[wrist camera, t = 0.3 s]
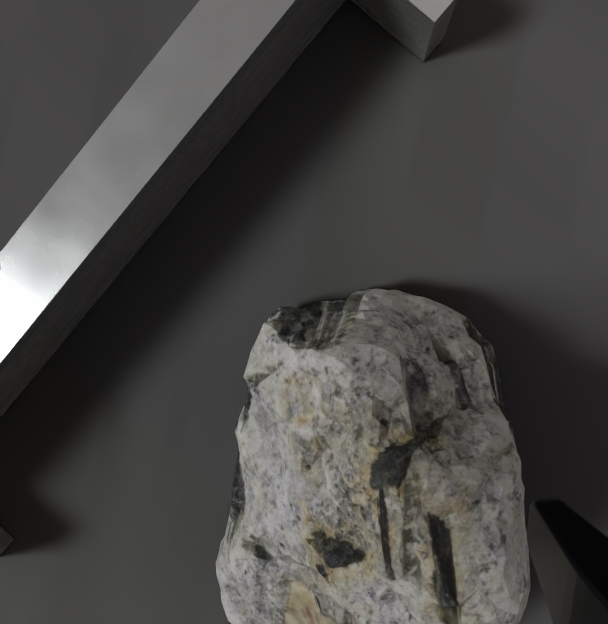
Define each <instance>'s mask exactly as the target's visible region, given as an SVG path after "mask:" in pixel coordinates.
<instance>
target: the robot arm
mask: <svg viewBox="0 0 608 624" xmlns="http://www.w3.org/2000/svg"><path fill="white" fill-rule="evenodd" d="M527 543H528V548H529V552H530V555H531V558H532V561H533V564H534V567H535V570H536V573H537V576H538V579H539V582H540V585H541V588H542V591H543V594H544V597H545V600H546V603H547V606H548V609H549V612H550V615H551V618H552V621H553V623H554V624H608V537H607V536H605V535H604V534H603V533H602V532H600V531H599V530H598V529H597V528H595V527H594V526H593V525H592V524H590V523H589V522H588V521H586V520H585V519H584V518H583V517H581V516H580V515H579V514H578V513H576V512H575V511H574V510H573V509H571V508H570V507H569V506H568V505H566V504H565V503H564V502H562V501H561V500H559V499H544V500H535V501H533V502H532V503H531V504H530V508H529V519H528V530H527Z"/></svg>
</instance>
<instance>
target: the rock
mask: <svg viewBox="0 0 608 624" xmlns="http://www.w3.org/2000/svg"><path fill="white" fill-rule="evenodd" d="M244 378H245V380H246V381H247V383H248V384H247V390H248V391H249V395H248V398H247V400H246V403H245V405H244V407H243V410H242V412H241V415H240V417H239V420H238V422H237V424H236V428H235V434H236V437H237V440H238V445H239V453H238V458H237V463H236V467H235V472H234V477H233V482H232V488H231V493H230V499H229V519H228V524H227V528H226V533H225V536H224V538H223V539H222V541H221V544H220V550H219V555H218V558H217V561H216V574H217V579H218V582H219V585H220V589H221V600H222V604H223V607H224V610H225V613H226V616H227V619H228V621H229V622H230V623H232V624H519V623H520V621H521V618H522V615H523V613H524V610H525V607H526V604H527V600H528V597H529V593H530V589H531V585H530V567H529V548H528V543H527V531H526V526H525V513H524V490H525V488H524V485H523V482H522V479H521V460H520V457H519V455H518V453H517V448H516V445H515V438H514V431H513V428H512V422H511V420H510V419H506V415H505V408H504V400H503V393H502V386H501V381H500V375H499V370H498V364H497V359H496V355H495V353H494V351H493V346H492V345H491V344H490V343H489V342H488V341H487V340H486V339H485V338H484V337H482V336H481V335H480V334H479V332H478V331H477V330H476V328H475V327H474V326H473V325H472V323H471V321H470V319H469V318H467V317H465V316H463V315H461V314H460V313H458V312H457V311H455V310H453V309H451V308H449V307H447V306H445V305H443V304H441V303H438V302H436V301H433V300H430V299H428V298H425V297H420V296H415V295H411V294H408V293H404V292H402V291H399V290H383V289H380V288H377V289H370V290H359V291H357V292H355V293H353V294H351V295H349V296H348V297H347V298H346V299H345V300H336V301H320V302H316V303H312V304H310V305H308V306H307V307H305V308H302V309H296V308H293V307H280V308H279V309H277V310H274V311H273V312H272V313H271V314H270V316H269V319H268V322H265V323H264V324H263V326H262V329H261V331H260V334H259V336H258V338H257V340H256V342H255V344H254V346H253V347H252V349H251V353H250V357H249V360H248V364H247V367H246V370H245V374H244Z"/></svg>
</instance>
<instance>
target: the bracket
mask: <svg viewBox="0 0 608 624" xmlns="http://www.w3.org/2000/svg"><path fill="white" fill-rule="evenodd" d="M345 1H346V0H200V1H199V2H198V3H197V4H196V6H195V7H194V8H193V9H192V11H191V12H190V13H189V15H188V16H187V17H186V18H185V20H184V21H183V22H182V23H181V25H180V26H179V27H178V28H177V30H176V31H175V32H174V33H173V35H172V36H171V37H170V39H169V40H168V41H167V42H166V44H165V45H164V46H163V47H162V49H161V50H160V51H159V52H158V54H157V55H156V56H155V58H154V59H153V60H152V61H151V63H150V64H149V65H148V66H147V68H146V69H145V70H144V71H143V73H142V74H141V75H140V76H139V78H138V79H137V80H136V82H135V83H134V84H133V85H132V87H131V88H130V89H129V90H128V92H127V93H126V94H125V95H124V97H123V98H122V99H121V101H120V102H119V103H118V104H117V106H116V107H115V108H114V109H113V111H112V112H111V113H110V114H109V116H108V117H107V118H106V119H105V121H104V122H103V123H102V125H101V126H100V127H99V128H98V130H97V131H96V132H95V133H94V135H93V136H92V137H91V138H90V140H89V141H88V142H87V144H86V145H85V146H84V147H83V149H82V150H81V151H80V152H79V154H78V155H77V156H76V157H75V159H74V160H73V161H72V162H71V164H70V165H69V166H68V168H67V169H66V170H65V171H64V173H63V174H62V175H61V176H60V178H59V179H58V180H57V181H56V183H55V184H54V185H53V186H52V188H51V189H50V190H49V192H48V193H47V194H46V195H45V197H44V198H43V199H42V200H41V202H40V203H39V204H38V205H37V207H36V208H35V209H34V211H33V212H32V213H31V214H30V216H29V217H28V218H27V219H26V221H25V222H24V223H23V224H22V226H21V227H20V228H19V229H18V231H17V232H16V233H15V235H14V236H13V237H12V238H11V240H10V241H9V242H8V243H7V245H6V246H5V247H4V248H3V250H2V251H1V252H0V418H1V417H2V416H3V414H4V413H5V412H6V411H7V410H8V408H9V407H10V406H11V405H12V404H13V402H14V401H15V400H16V399H17V397H18V396H19V395H20V394H21V393H22V391H23V390H24V389H25V388H26V387H27V385H28V384H29V383H30V382H31V381H32V379H33V378H34V377H35V376H36V374H37V373H38V372H39V371H40V370H41V368H42V367H43V366H44V365H45V364H46V362H47V361H48V360H49V359H50V358H51V356H52V355H53V354H54V353H55V351H56V350H57V349H58V348H59V347H60V345H61V344H62V343H63V342H64V341H65V339H66V338H67V337H68V336H69V335H70V333H71V332H72V331H73V330H74V329H75V327H76V326H77V325H78V324H79V322H80V321H81V320H82V319H83V318H84V316H85V315H86V314H87V313H88V312H89V310H90V309H91V308H92V307H93V306H94V304H95V303H96V302H97V301H98V299H99V298H100V297H101V296H102V295H103V293H104V292H105V291H106V290H107V289H108V287H109V286H110V285H111V284H112V283H113V281H114V280H115V279H116V278H117V276H118V275H119V274H120V273H121V272H122V270H123V269H124V268H125V267H126V266H127V264H128V263H129V262H130V261H131V260H132V258H133V257H134V256H135V255H136V253H137V252H138V251H139V250H140V249H141V247H142V246H143V245H144V244H145V243H146V241H147V240H148V239H149V238H150V237H151V235H152V234H153V233H154V232H155V230H156V229H157V228H158V227H159V226H160V224H161V223H162V222H163V221H164V220H165V218H166V217H167V216H168V215H169V214H170V212H171V211H172V210H173V209H174V207H175V206H176V205H177V204H178V203H179V201H180V200H181V199H182V198H183V197H184V195H185V194H186V193H187V192H188V191H189V189H190V188H191V187H192V186H193V185H194V183H195V182H196V181H197V180H198V178H199V177H200V176H201V175H202V174H203V172H204V171H205V170H206V169H207V168H208V166H209V165H210V164H211V163H212V162H213V160H214V159H215V158H216V157H217V155H218V154H219V153H220V152H221V151H222V149H223V148H224V147H225V146H226V145H227V143H228V142H229V141H230V140H231V139H232V137H233V136H234V135H235V134H236V132H237V131H238V130H239V129H240V128H241V126H242V125H243V124H244V123H245V122H246V120H247V119H248V118H249V117H250V116H251V114H252V113H253V112H254V111H255V109H256V108H257V107H258V106H259V105H260V103H261V102H262V101H263V100H264V99H265V97H266V96H267V95H268V94H269V93H270V91H271V90H272V89H273V88H274V86H275V85H276V84H277V83H278V82H279V80H280V79H281V78H282V77H283V76H284V74H285V73H286V72H287V71H288V70H289V68H290V67H291V66H292V65H293V64H294V62H295V61H296V60H297V59H298V57H299V56H300V55H301V54H302V53H303V51H304V50H305V49H306V48H307V47H308V45H309V44H310V43H311V42H312V41H313V39H314V38H315V37H316V36H317V34H318V33H319V32H320V31H321V30H322V28H323V27H324V26H325V25H326V24H327V22H328V21H329V20H330V19H331V18H332V16H333V15H334V14H335V13H336V11H337V10H338V9H339V8H340V7H341V5H342V4H343V3H344V2H345ZM351 1H352V2H353V3H354V4H355V5H357V6H358V7H359V8H360V9H361V10H363V11H364V12H365V13H366V14H367V15H368V16H370V17H371V18H372V19H373V20H374V21H375V22H377V23H378V24H379V25H380V26H381V27H383V28H384V29H385V30H386V31H387V32H388V33H390V34H391V35H392V36H393V37H394V38H395V39H397V40H398V41H399V42H400V43H401V44H402V45H404V46H405V47H406V48H407V49H408V50H410V51H411V52H412V53H413V54H414V55H415V56H417V57H418V58H419V59H420V60H421V61H422V62H424V61H425V60H426V58H427V57H428V56H429V55H430V54H431V53H432V51H433V50H434V49H435V48H436V47H437V46H438V44H439V43H440V42H441V41H442V40H443V39H444V37H445V34H446V31H447V28H448V25H449V22H450V19H451V16H452V13H453V10H454V7H455V4H456V1H457V0H351ZM13 540H14V539H13V538H12V537H11V536H10V535H9V534H8V533H7V532H6V531H5V530H4V529H3V528H2V527H1V526H0V555H1V554H2V552H3V551H4V550H5V549H6V548H7V547H8V545H9V544H10V543H11V542H12V541H13Z"/></svg>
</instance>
